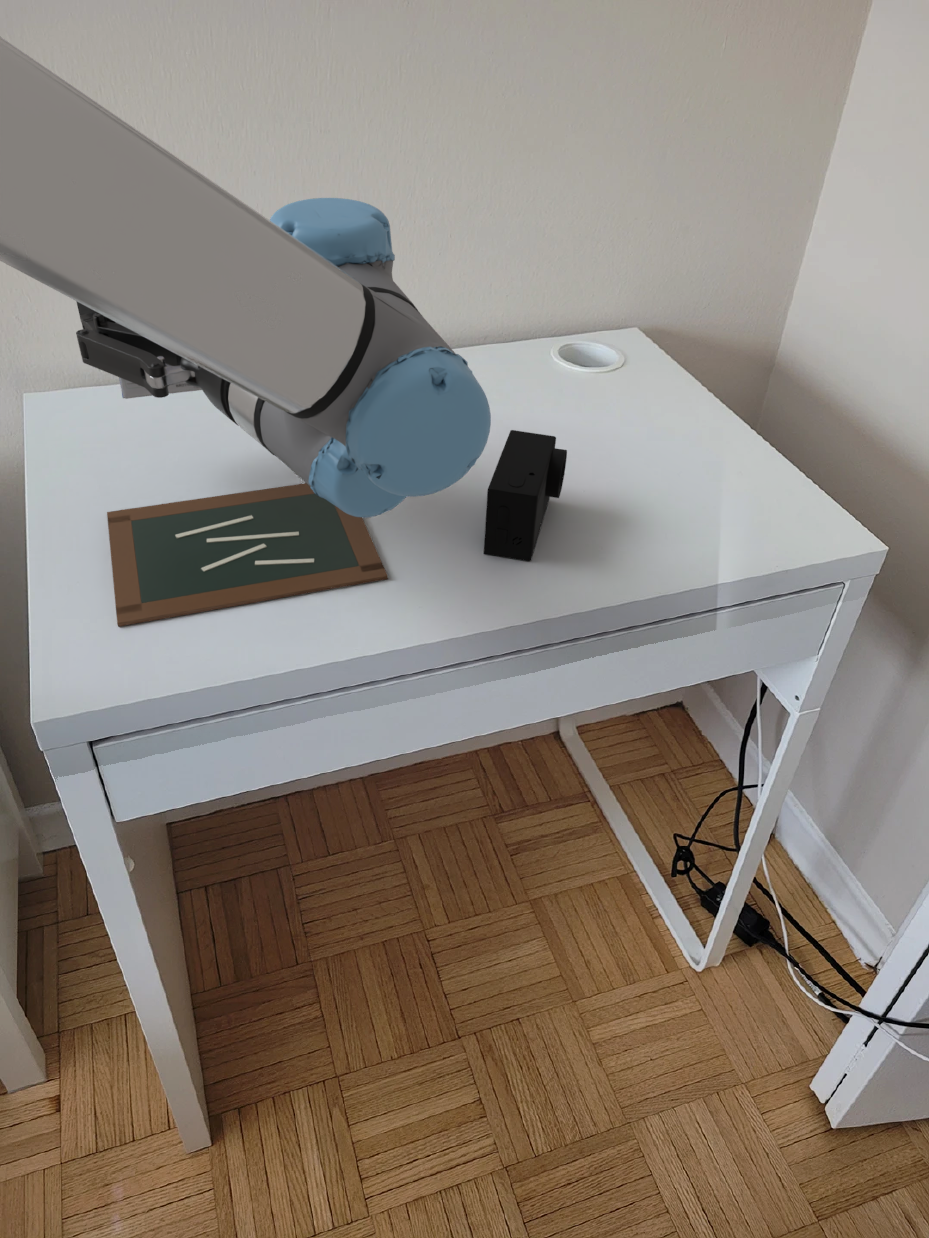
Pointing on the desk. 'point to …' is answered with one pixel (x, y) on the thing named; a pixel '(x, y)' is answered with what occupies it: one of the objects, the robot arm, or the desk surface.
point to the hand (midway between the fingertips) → (143, 292)
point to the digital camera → (522, 493)
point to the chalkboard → (234, 552)
